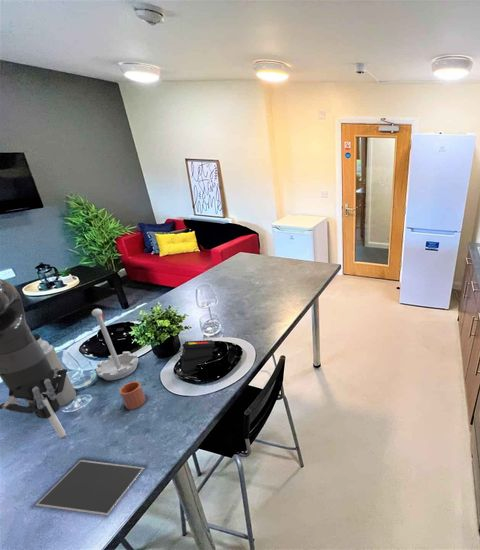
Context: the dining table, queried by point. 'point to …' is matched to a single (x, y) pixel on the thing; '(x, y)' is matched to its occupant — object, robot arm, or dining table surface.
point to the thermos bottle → (54, 362)
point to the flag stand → (114, 356)
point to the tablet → (91, 487)
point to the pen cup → (132, 395)
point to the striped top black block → (195, 355)
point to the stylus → (54, 420)
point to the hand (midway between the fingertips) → (50, 413)
